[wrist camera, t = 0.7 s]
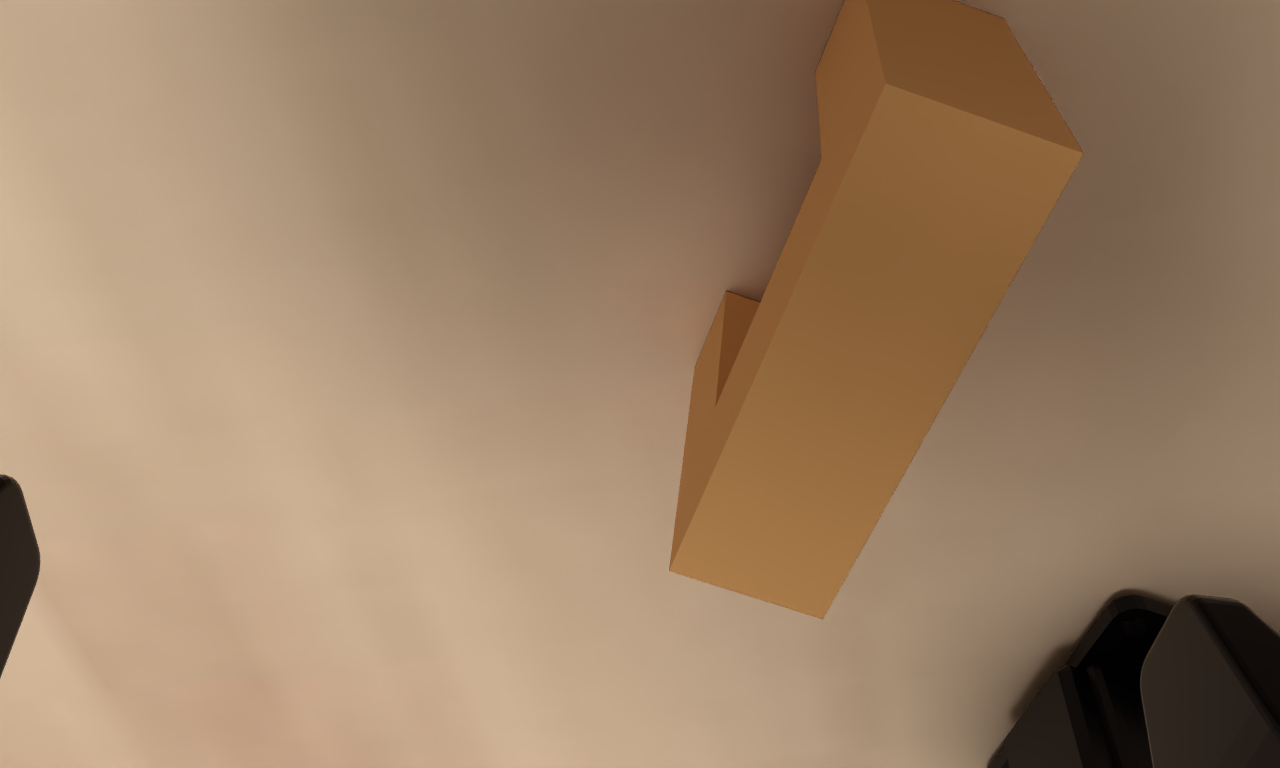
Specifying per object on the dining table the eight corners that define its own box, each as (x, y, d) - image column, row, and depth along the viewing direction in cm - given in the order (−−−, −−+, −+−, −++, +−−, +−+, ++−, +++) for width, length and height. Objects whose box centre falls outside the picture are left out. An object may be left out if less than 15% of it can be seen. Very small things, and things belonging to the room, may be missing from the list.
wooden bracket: (1003, 18, 19) (1083, 153, 14) (814, 407, 23) (823, 619, 18) (858, -34, 19) (885, 83, 14) (694, 368, 23) (668, 571, 18)
